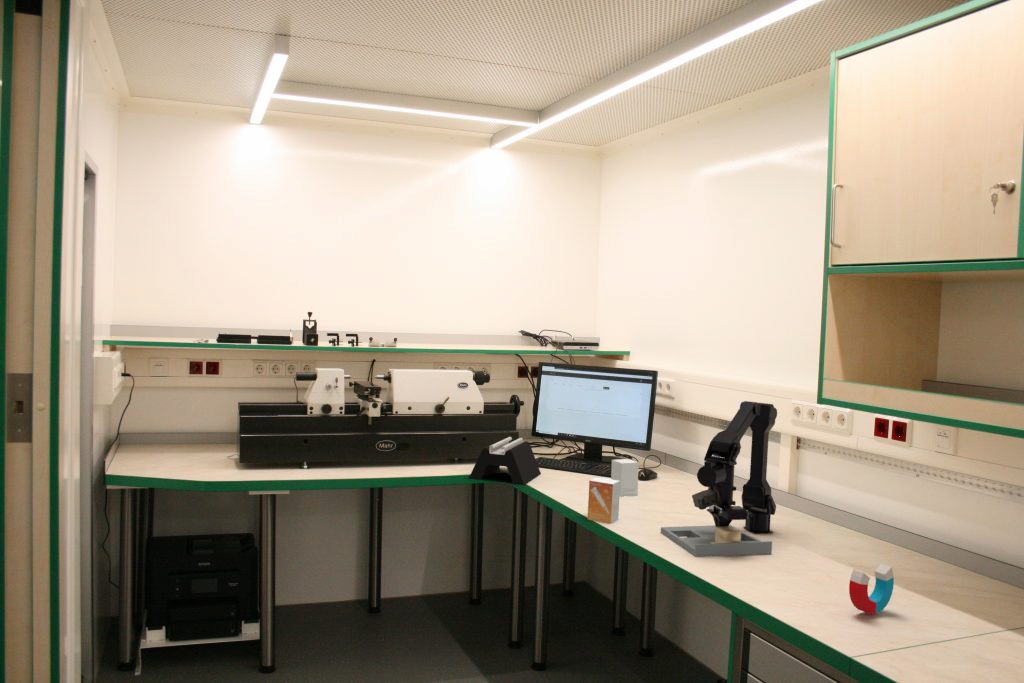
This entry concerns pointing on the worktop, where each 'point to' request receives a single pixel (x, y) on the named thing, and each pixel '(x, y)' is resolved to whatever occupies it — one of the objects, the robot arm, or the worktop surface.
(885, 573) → the magnet
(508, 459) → the device stand
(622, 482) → the supplement box
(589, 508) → the small box
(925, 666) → the worktop surface
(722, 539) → the maple block
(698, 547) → the board
